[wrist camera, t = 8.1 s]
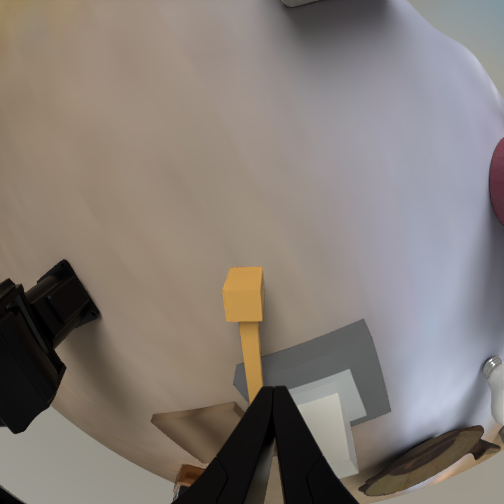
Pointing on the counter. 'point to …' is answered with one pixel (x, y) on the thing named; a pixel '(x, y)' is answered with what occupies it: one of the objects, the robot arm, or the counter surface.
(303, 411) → the plug
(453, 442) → the brown shallow curved piece
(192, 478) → the whiskey bottle
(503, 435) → the spray can
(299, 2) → the electrical switch
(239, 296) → the ball-topped lever
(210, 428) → the walnut board
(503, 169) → the plant pot
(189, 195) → the counter surface
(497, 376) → the light bulb
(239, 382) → the socket block
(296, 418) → the robot arm
